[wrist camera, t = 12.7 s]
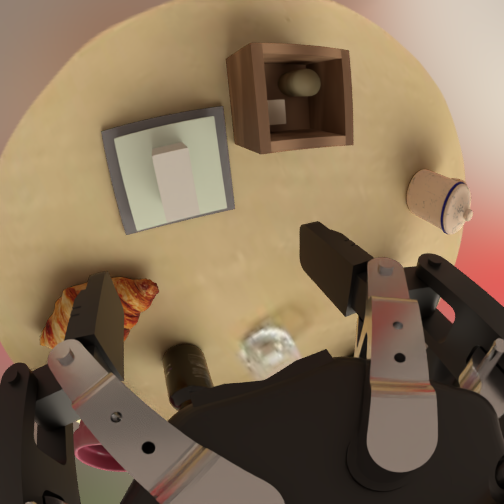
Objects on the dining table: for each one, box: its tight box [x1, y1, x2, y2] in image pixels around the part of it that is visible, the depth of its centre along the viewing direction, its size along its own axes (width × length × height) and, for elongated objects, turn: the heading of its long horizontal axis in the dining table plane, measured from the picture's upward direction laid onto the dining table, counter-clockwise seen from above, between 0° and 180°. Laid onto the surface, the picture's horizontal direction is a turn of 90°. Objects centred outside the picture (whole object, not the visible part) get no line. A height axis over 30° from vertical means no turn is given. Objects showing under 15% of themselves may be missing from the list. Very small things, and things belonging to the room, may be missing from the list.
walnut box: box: [226, 43, 353, 154], centre depth 25 cm, size 10×10×8 cm
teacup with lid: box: [407, 169, 473, 234], centre depth 38 cm, size 12×9×12 cm
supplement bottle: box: [163, 344, 214, 411], centre depth 37 cm, size 7×7×12 cm
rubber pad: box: [101, 106, 235, 235], centre depth 28 cm, size 13×12×1 cm
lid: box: [114, 116, 227, 231], centre depth 25 cm, size 10×10×7 cm
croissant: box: [40, 277, 159, 349], centre depth 31 cm, size 21×10×8 cm, turn 111°
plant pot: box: [73, 420, 127, 472], centre depth 37 cm, size 14×14×13 cm
